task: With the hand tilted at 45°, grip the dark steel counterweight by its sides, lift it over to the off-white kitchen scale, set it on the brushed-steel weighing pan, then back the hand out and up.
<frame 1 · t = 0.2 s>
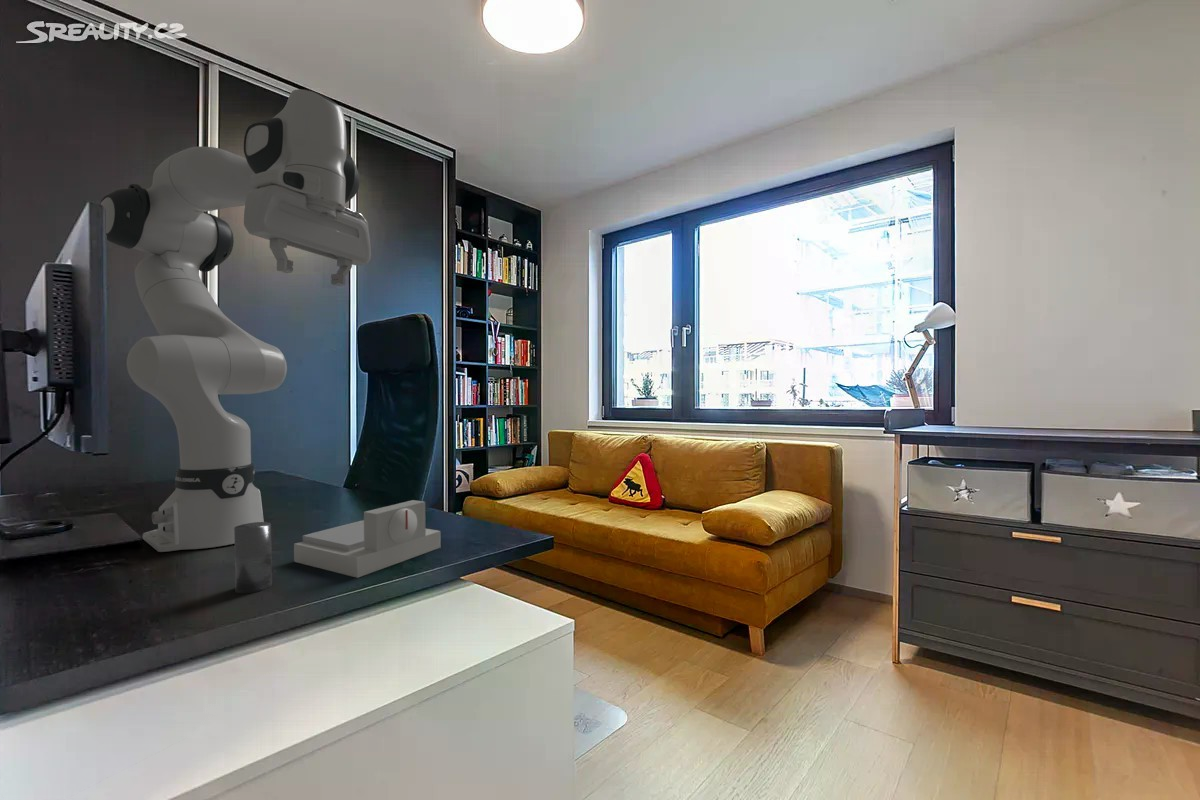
hand: (312, 278, 85), 47 cm above the table, tool pointing down, fingers open, 8 cm apart
kitchen scale: (370, 554, 90), on the table
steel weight: (254, 587, 75), on the table
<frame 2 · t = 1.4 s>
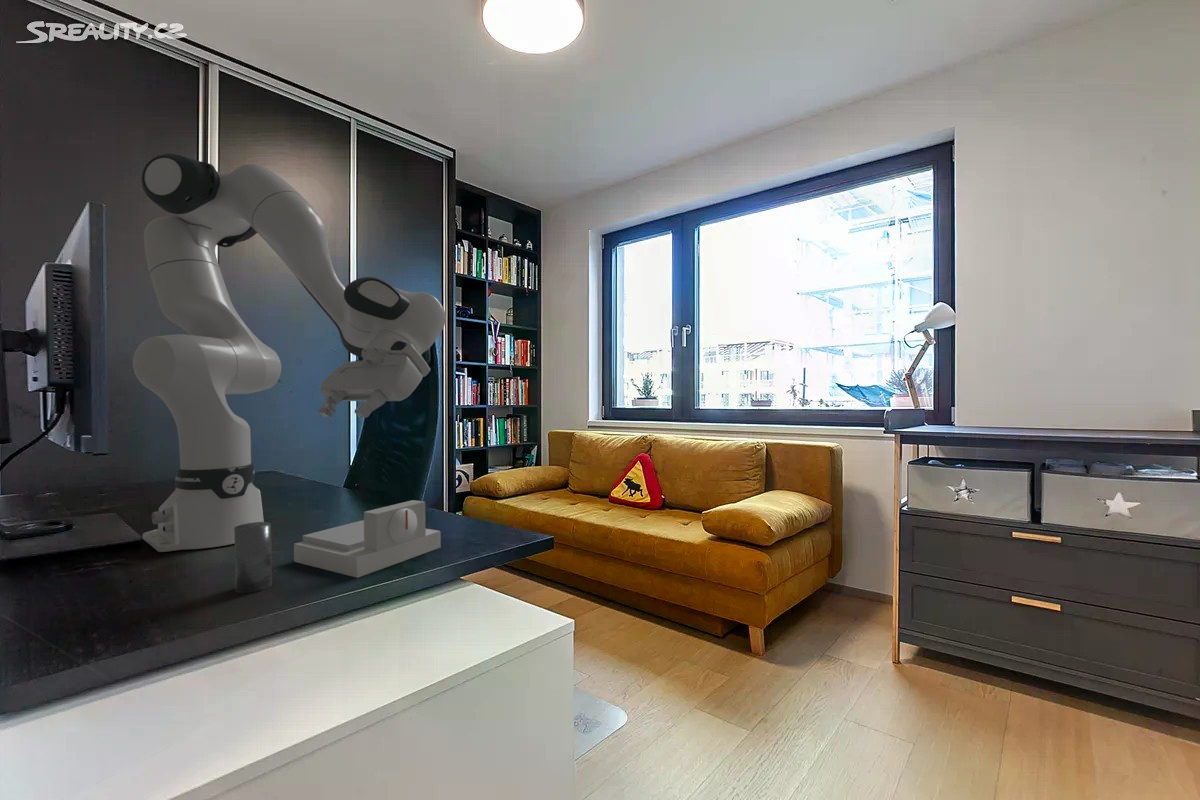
hand: (341, 414, 87), 24 cm above the table, tool tilted 45°, fingers open, 8 cm apart
nothing on the table moved.
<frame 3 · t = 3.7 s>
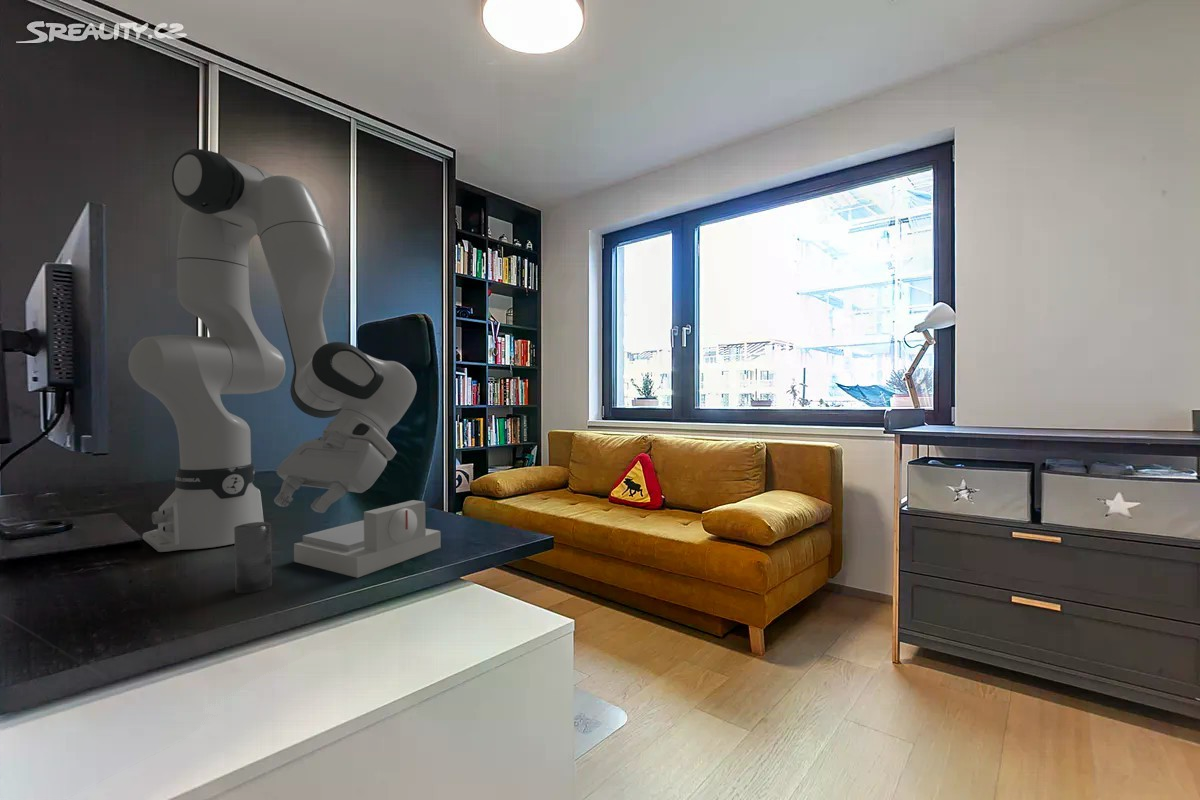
hand: (297, 507, 80), 10 cm above the table, tool tilted 45°, fingers open, 8 cm apart
nothing on the table moved.
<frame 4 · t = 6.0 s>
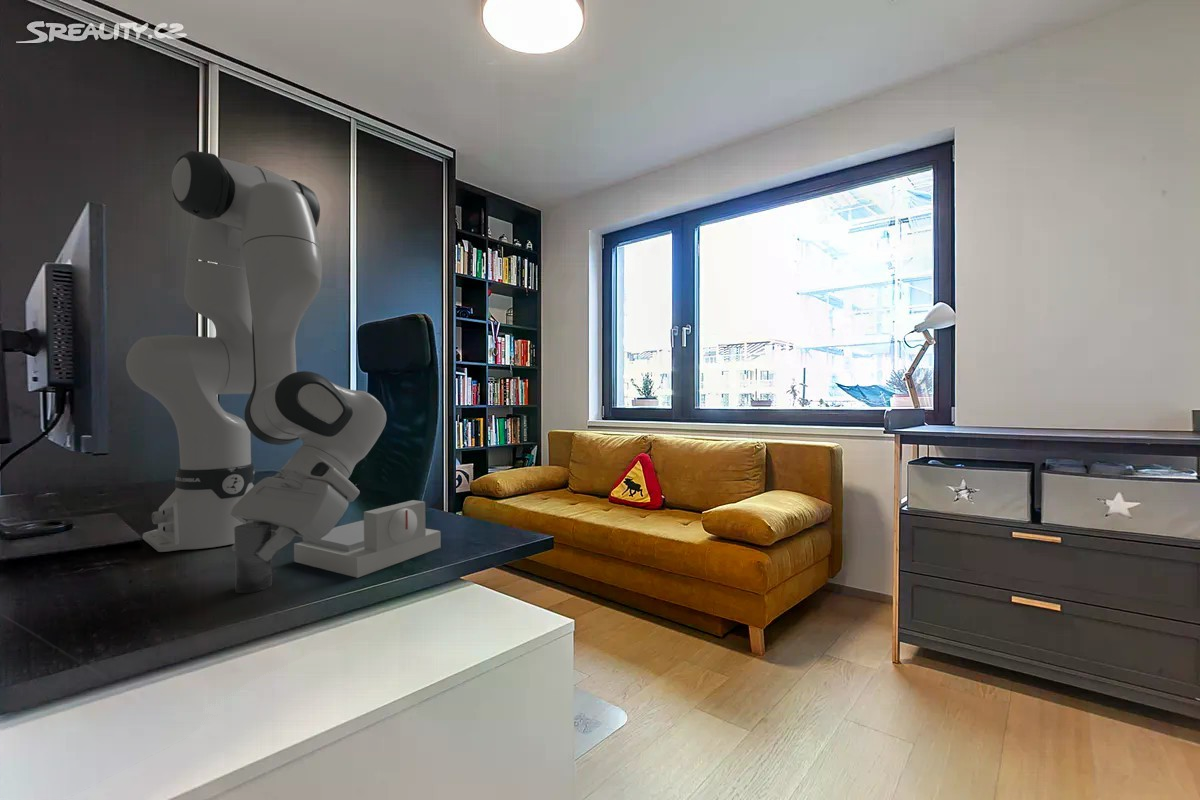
hand: (248, 555, 74), 5 cm above the table, tool tilted 45°, fingers closed on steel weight, 4 cm apart
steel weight: (254, 587, 75), on the table, touching gripper
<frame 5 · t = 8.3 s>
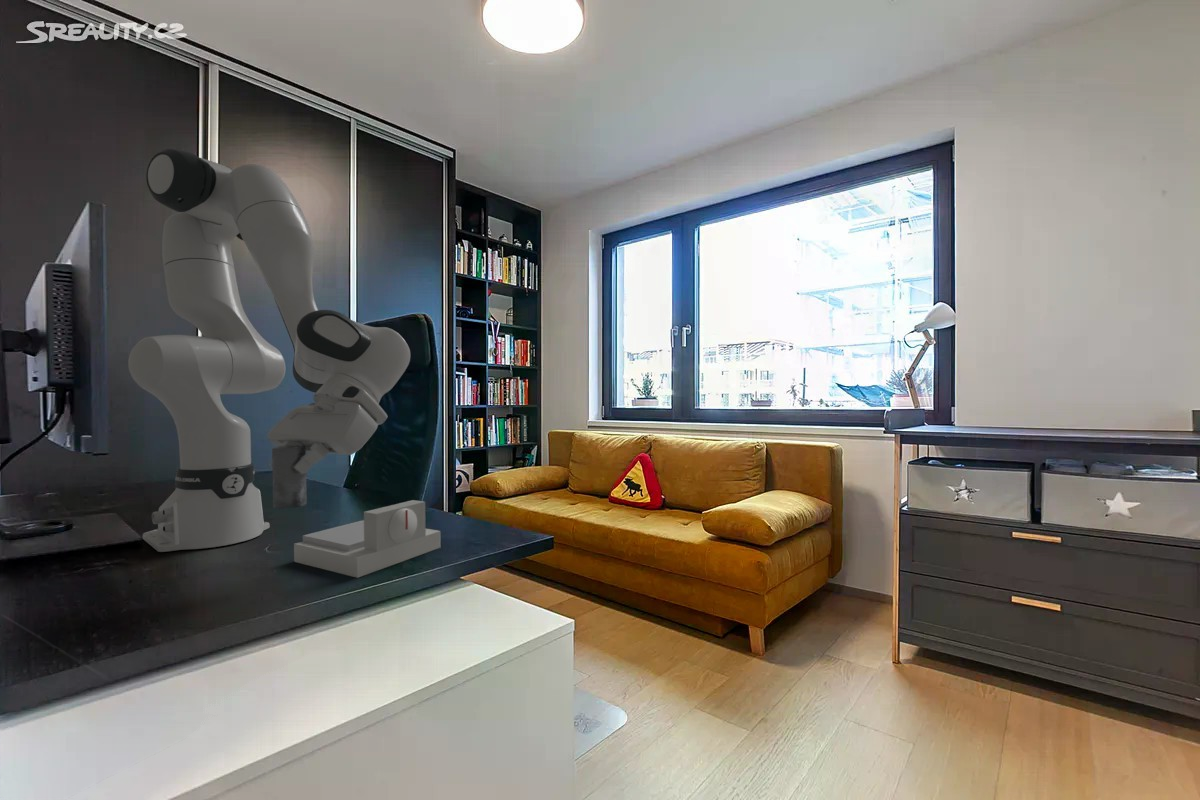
hand: (285, 469, 79), 16 cm above the table, tool tilted 45°, fingers closed on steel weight, 4 cm apart
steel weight: (290, 505, 80), point 11 cm above the table, touching gripper
when the fingers open (10 cm above the table, at t = 10.8 s): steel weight stays where it is, resting on kitchen scale.
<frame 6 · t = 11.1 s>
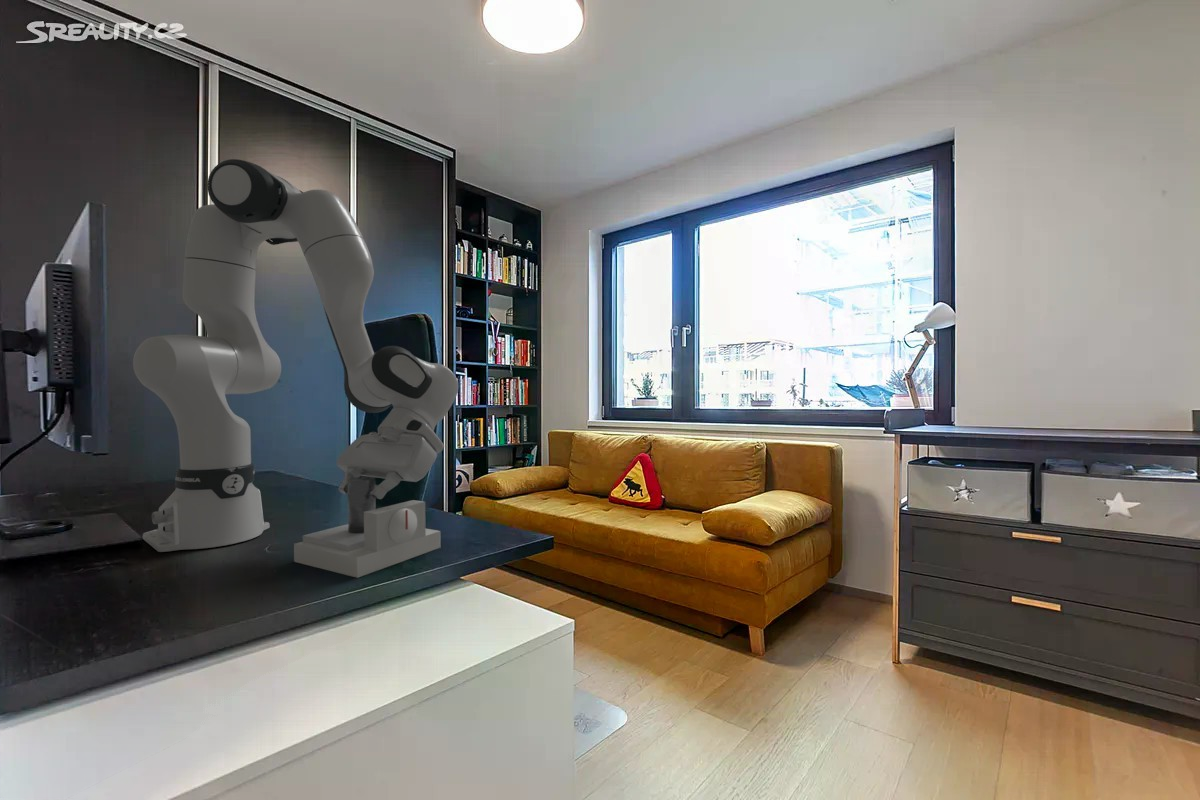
hand: (358, 494, 90), 10 cm above the table, tool tilted 45°, fingers open, 7 cm apart
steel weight: (362, 529, 91), point 4 cm above the table, touching kitchen scale
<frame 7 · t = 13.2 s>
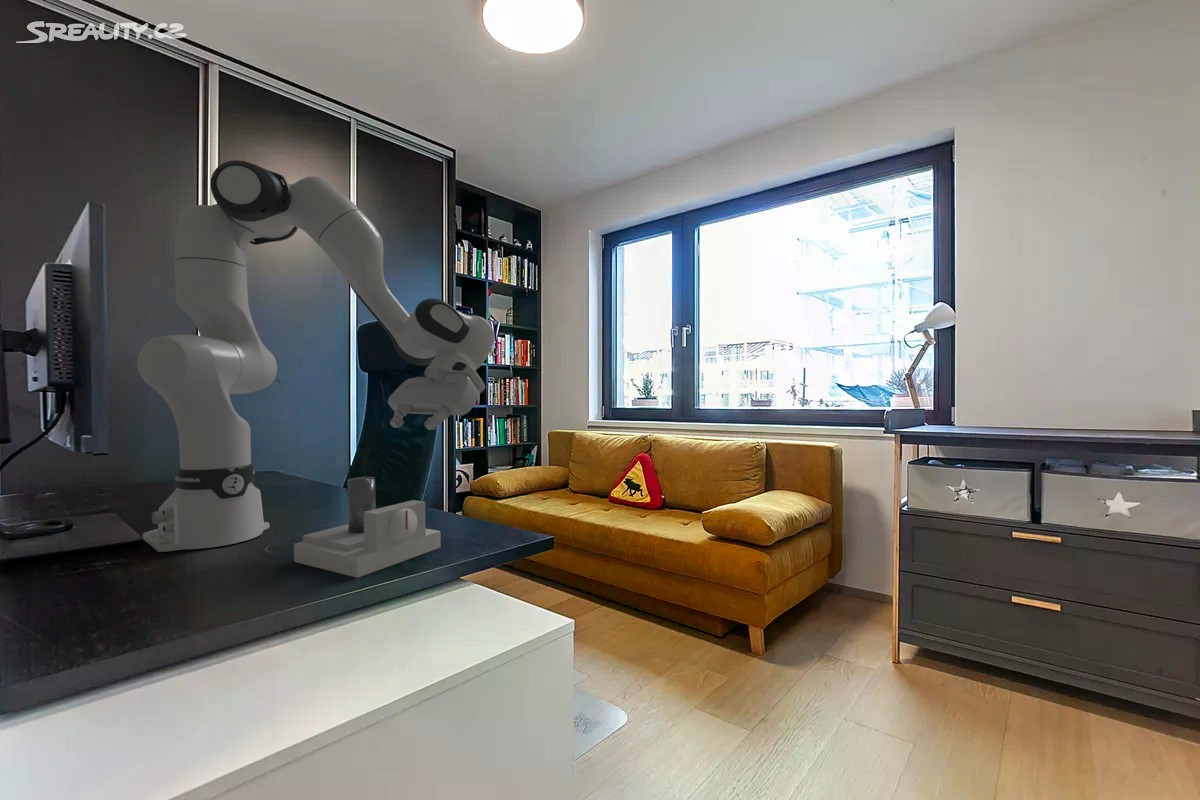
hand: (411, 426, 100), 21 cm above the table, tool tilted 45°, fingers open, 8 cm apart
nothing on the table moved.
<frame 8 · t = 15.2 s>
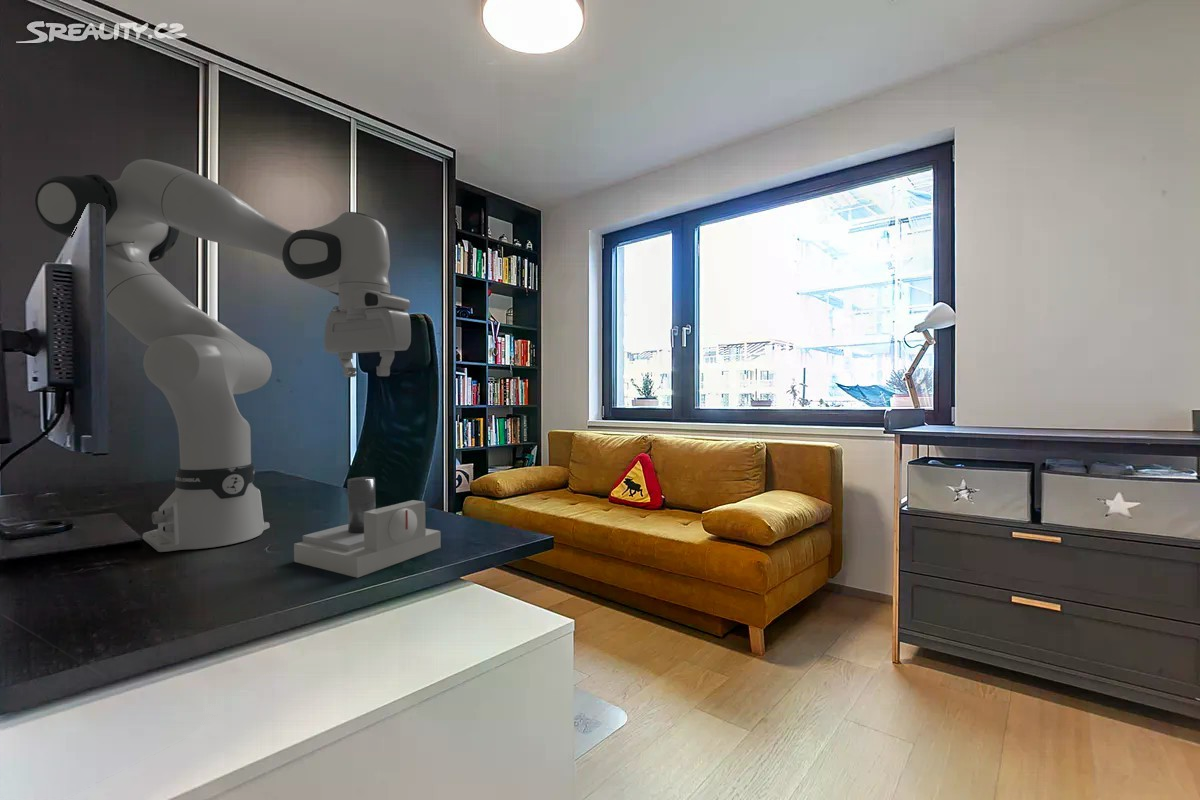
hand: (366, 376, 97), 31 cm above the table, tool pointing down, fingers open, 8 cm apart
nothing on the table moved.
at the end: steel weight inside the target area on the kitchen scale (0.1 cm from its centre), point 4.0 cm above the kitchen scale's base; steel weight tilted 0°; the gripper is holding nothing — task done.
